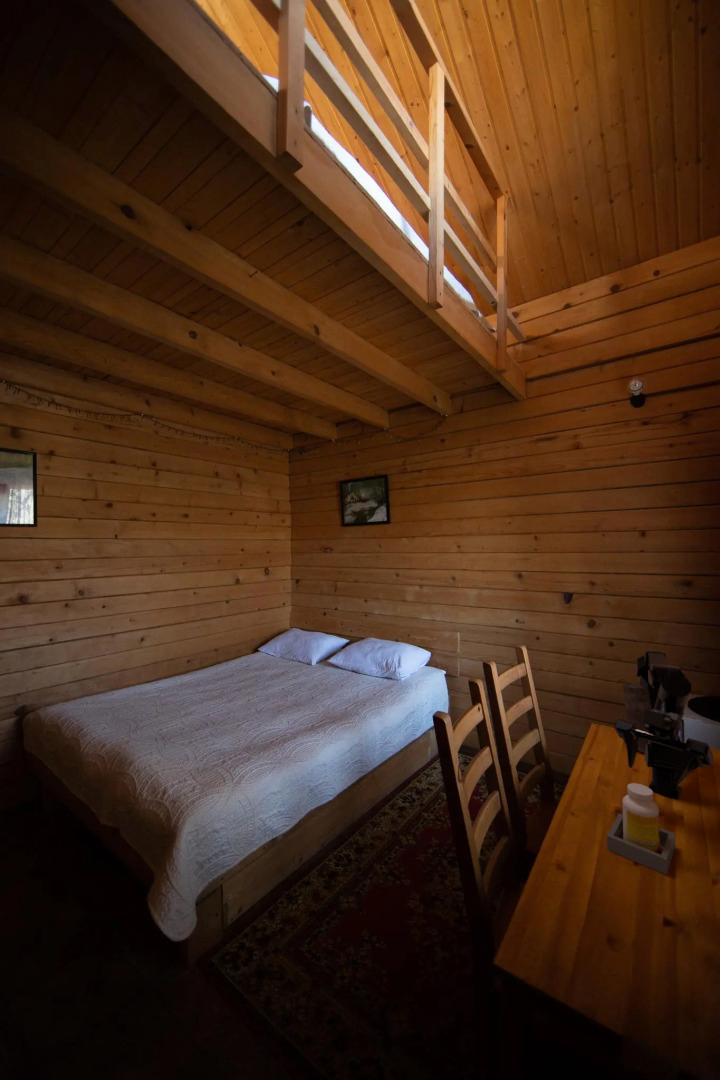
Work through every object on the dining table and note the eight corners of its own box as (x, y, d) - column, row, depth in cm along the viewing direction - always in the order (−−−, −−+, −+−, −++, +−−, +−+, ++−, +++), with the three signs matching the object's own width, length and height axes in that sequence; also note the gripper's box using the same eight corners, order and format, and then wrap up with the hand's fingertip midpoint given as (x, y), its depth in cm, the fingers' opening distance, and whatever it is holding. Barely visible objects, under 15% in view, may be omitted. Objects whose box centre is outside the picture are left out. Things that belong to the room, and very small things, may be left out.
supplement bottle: (666, 861, 89) (664, 799, 90) (630, 857, 91) (629, 796, 91) (651, 840, 96) (650, 782, 96) (618, 836, 97) (617, 779, 97)
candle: (623, 745, 141) (617, 682, 143) (645, 743, 141) (638, 681, 144) (640, 753, 133) (633, 687, 136) (663, 752, 134) (655, 685, 136)
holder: (619, 825, 101) (619, 813, 101) (675, 847, 94) (674, 833, 94) (607, 849, 93) (606, 835, 93) (666, 875, 86) (666, 859, 86)
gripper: (616, 686, 109) (597, 743, 102) (708, 707, 94) (695, 775, 87) (628, 709, 114) (612, 765, 107) (719, 733, 99) (706, 799, 92)
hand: (652, 775), depth 98 cm, fingers open, 9 cm apart
